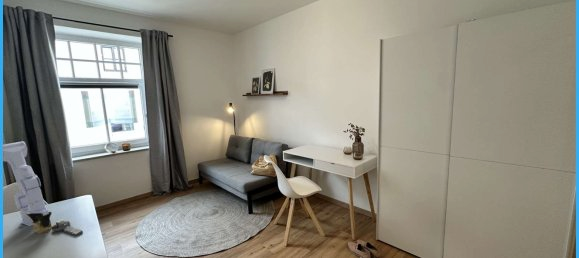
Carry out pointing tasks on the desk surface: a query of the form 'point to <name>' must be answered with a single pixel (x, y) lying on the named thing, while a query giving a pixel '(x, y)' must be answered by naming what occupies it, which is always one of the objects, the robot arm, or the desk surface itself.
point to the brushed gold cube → (40, 226)
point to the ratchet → (65, 228)
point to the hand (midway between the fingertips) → (42, 225)
